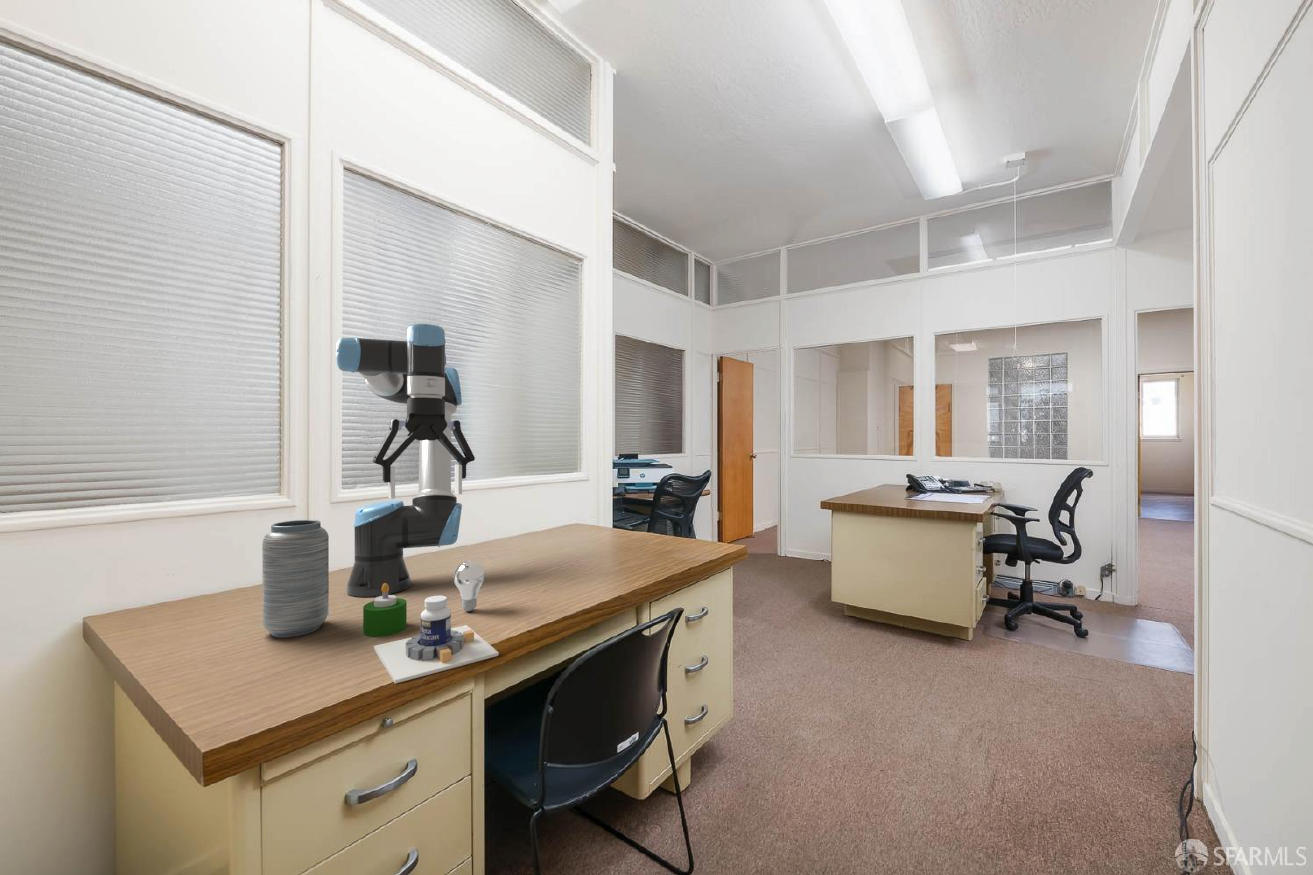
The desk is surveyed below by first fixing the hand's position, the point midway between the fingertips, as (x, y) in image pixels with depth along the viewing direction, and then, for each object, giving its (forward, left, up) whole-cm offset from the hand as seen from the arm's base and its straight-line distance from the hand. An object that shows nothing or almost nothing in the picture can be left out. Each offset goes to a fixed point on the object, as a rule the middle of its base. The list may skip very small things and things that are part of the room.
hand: (426, 495), depth 112 cm
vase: (-16, -22, -29) cm, 40 cm away
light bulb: (-5, +11, -29) cm, 31 cm away
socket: (+14, -2, -29) cm, 32 cm away
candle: (-5, -7, -29) cm, 30 cm away
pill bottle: (+14, -2, -28) cm, 32 cm away
